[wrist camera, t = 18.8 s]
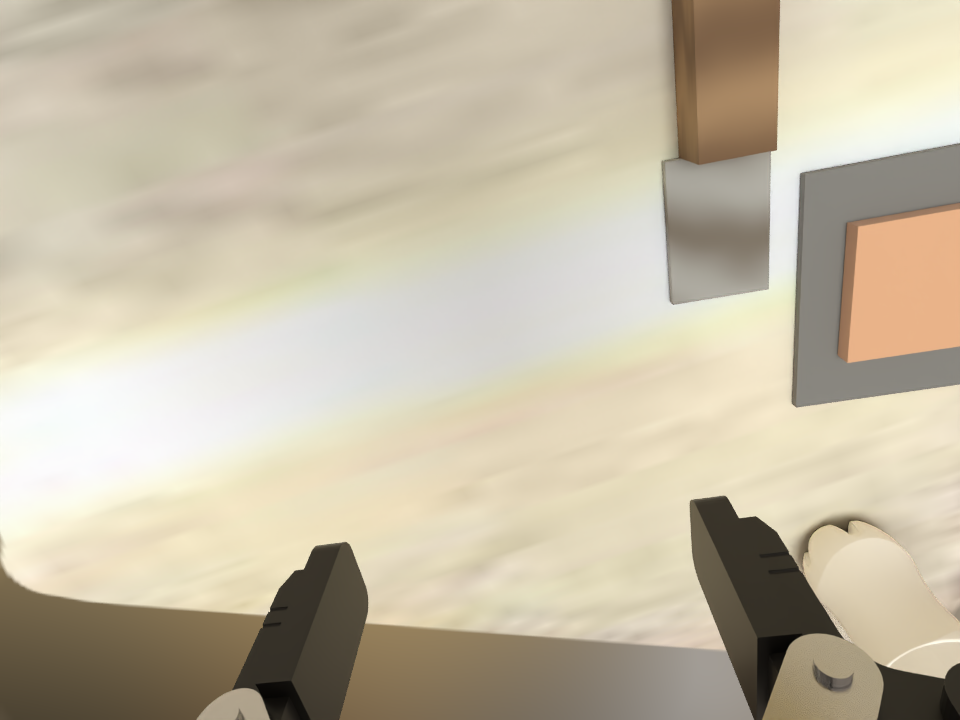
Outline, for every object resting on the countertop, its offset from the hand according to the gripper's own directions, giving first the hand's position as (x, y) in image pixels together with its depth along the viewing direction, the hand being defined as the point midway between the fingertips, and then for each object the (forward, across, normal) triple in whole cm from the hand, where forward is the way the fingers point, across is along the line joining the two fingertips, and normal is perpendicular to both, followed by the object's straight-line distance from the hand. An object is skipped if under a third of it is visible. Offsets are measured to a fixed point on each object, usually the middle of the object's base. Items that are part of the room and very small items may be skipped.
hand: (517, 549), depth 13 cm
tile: (+25, -24, +1) cm, 35 cm away
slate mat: (+26, -24, +6) cm, 36 cm away
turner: (+26, -13, -6) cm, 30 cm away
